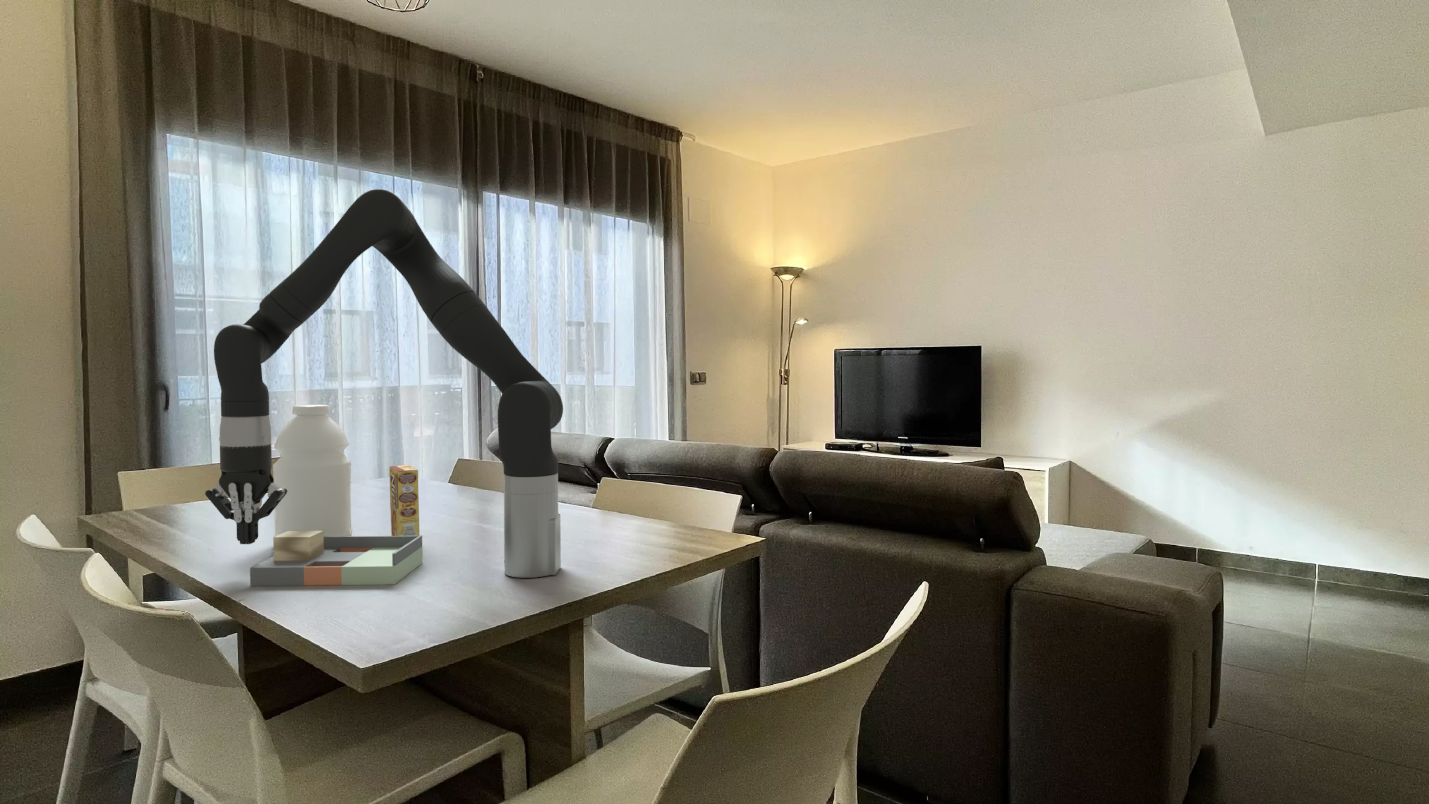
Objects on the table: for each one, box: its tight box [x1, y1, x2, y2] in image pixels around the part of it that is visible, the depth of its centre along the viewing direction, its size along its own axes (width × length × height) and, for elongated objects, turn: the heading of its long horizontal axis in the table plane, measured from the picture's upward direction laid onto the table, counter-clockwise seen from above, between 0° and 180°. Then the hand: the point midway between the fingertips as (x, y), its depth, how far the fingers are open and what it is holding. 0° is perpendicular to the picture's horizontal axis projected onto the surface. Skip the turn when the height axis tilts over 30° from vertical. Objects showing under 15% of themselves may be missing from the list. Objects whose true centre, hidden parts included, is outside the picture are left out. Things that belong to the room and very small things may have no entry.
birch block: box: [272, 531, 324, 561], centre depth 131 cm, size 6×5×4 cm
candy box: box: [388, 464, 421, 536], centre depth 156 cm, size 9×4×15 cm, turn 33°
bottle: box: [272, 404, 353, 537], centre depth 155 cm, size 14×14×28 cm
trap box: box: [249, 535, 423, 587], centre depth 132 cm, size 23×14×5 cm, turn 93°
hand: (247, 543), depth 131 cm, fingers closed
